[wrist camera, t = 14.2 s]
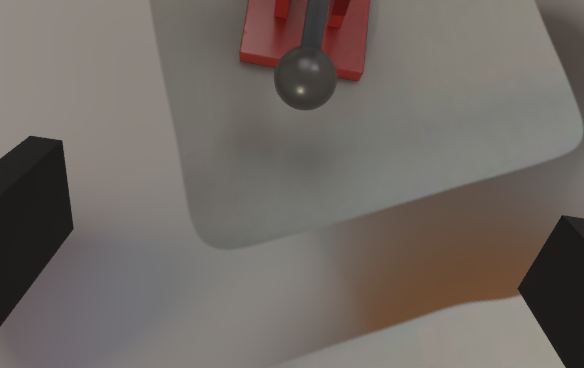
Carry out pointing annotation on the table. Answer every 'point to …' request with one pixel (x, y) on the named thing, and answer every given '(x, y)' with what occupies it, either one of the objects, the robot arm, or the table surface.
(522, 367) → the table surface
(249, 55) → the bracket
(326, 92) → the lever
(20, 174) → the robot arm
